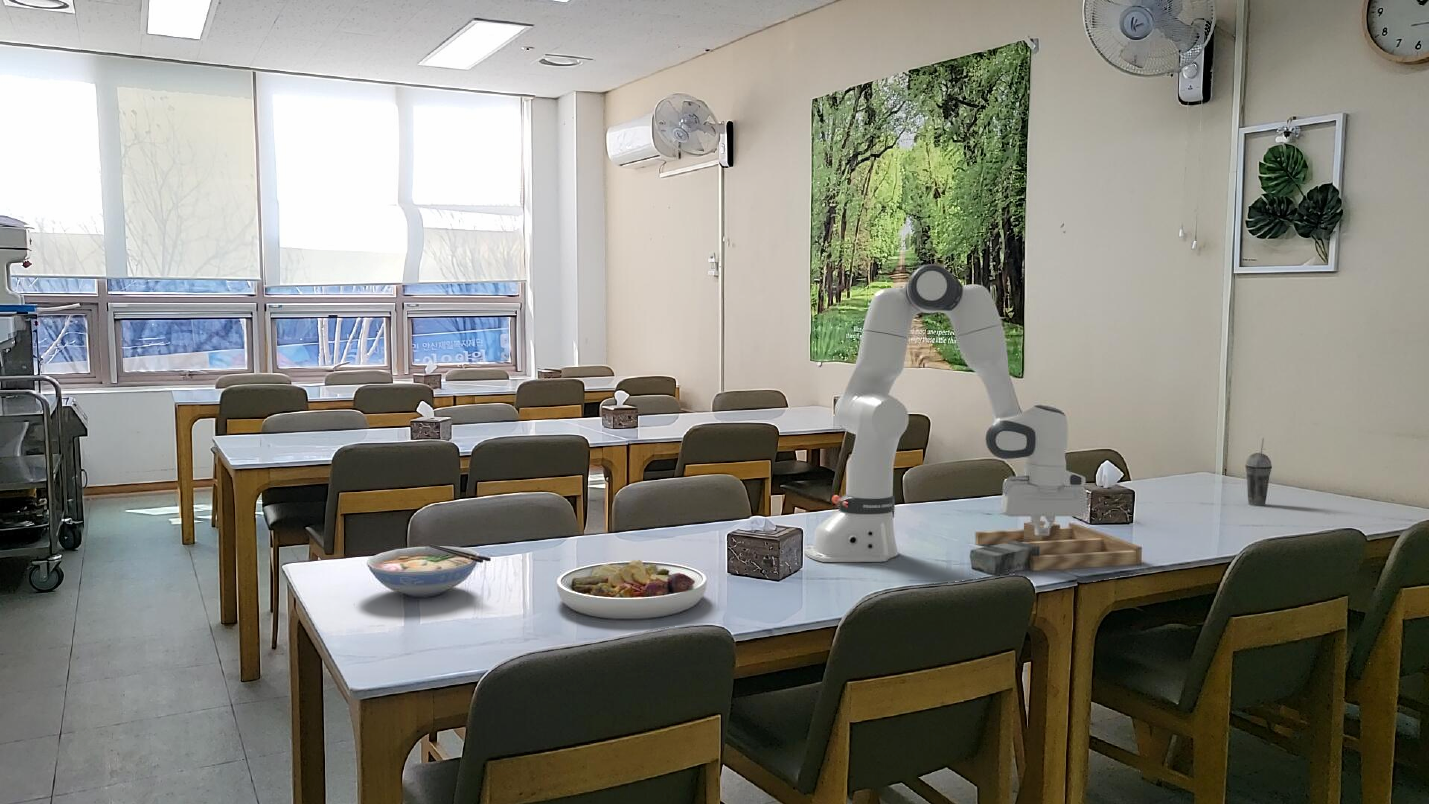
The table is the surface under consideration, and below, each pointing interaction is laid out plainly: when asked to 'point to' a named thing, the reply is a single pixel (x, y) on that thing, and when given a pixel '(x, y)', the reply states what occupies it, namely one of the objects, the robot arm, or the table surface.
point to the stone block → (1003, 557)
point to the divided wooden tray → (1071, 548)
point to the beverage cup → (1258, 477)
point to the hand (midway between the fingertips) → (1041, 535)
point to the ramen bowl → (424, 568)
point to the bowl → (631, 589)
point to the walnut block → (1031, 537)
